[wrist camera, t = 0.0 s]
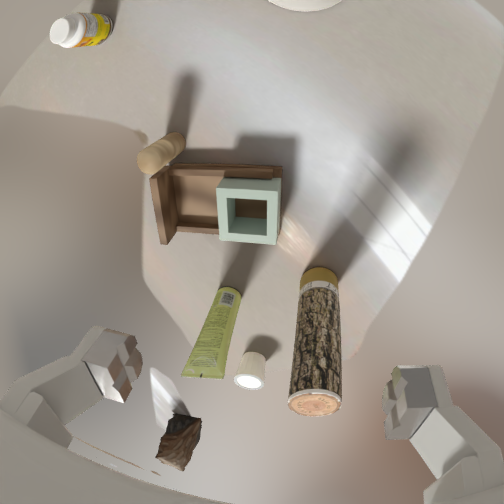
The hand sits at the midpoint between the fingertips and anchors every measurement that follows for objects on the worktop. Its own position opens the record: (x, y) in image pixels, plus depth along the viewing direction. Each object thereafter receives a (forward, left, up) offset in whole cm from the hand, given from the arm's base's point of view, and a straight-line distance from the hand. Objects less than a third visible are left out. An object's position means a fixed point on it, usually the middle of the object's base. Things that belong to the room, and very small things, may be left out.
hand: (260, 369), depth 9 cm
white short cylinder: (+54, -7, -39) cm, 67 cm away
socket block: (+13, -7, -38) cm, 40 cm away
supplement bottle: (-17, -31, -39) cm, 53 cm away
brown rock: (+102, -31, -39) cm, 113 cm away
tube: (+34, -12, -39) cm, 53 cm away
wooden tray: (+13, -11, -39) cm, 42 cm away
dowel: (+4, -19, -39) cm, 43 cm away
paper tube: (+28, +5, -39) cm, 48 cm away
